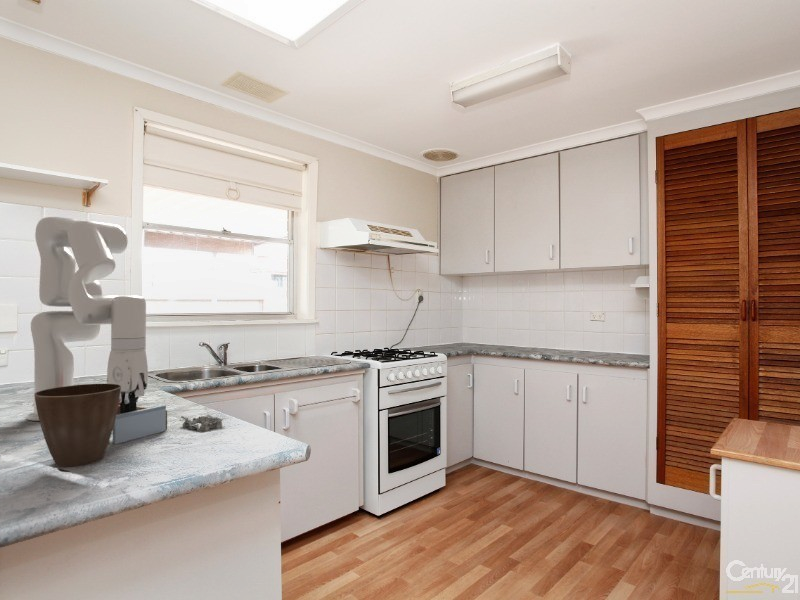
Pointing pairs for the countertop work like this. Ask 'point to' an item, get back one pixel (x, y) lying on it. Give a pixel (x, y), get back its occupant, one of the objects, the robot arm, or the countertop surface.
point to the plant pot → (77, 421)
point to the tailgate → (139, 424)
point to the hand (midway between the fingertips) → (128, 418)
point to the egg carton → (203, 423)
